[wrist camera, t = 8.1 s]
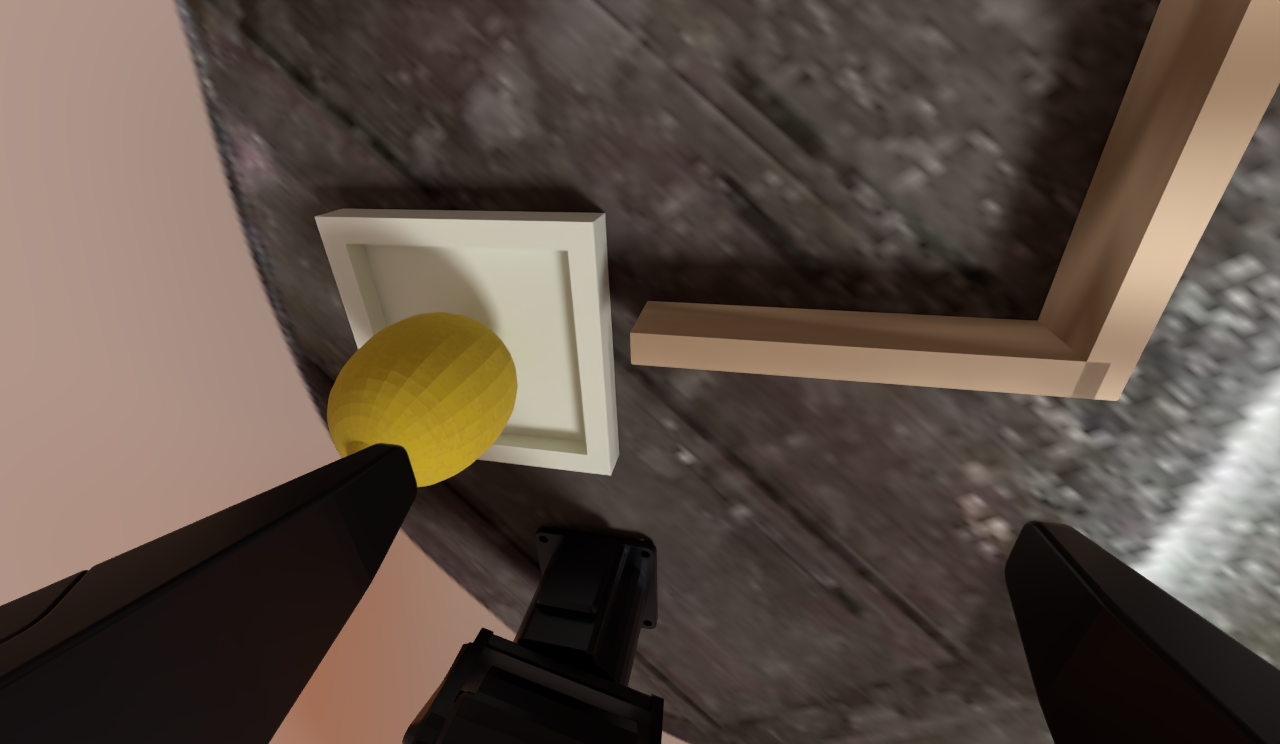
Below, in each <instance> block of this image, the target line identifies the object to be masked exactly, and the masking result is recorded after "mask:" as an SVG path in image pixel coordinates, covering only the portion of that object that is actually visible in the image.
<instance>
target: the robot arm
mask: <svg viewBox="0 0 1280 744" xmlns="http://www.w3.org/2000/svg"><path fill="white" fill-rule="evenodd" d="M416 494H417V481H416V478H415V475H414V472H413V468H412V465H411V462H410V459H409V456H408V453H407V450H406V449H405V448H404V447H403V446H401V445H396V444H388V443H377V444H374V445H371V446H369V447H367V448H365V449H362V450H360V451H358V452H355V453H353V454H351V455H348V456H346V457H344V458H342V459H339V460H337V461H335V462H332V463H330V464H328V465H325V466H323V467H321V468H318V469H316V470H314V471H312V472H309V473H307V474H305V475H303V476H300V477H298V478H295V479H293V480H291V481H289V482H286V483H284V484H282V485H279V486H277V487H275V488H272V489H270V490H268V491H266V492H263V493H261V494H259V495H256V496H254V497H252V498H249V499H247V500H245V501H242V502H241V503H238V504H236V505H233V506H231V507H229V508H226V509H224V510H222V511H219V512H217V513H215V514H213V515H210V516H208V517H206V518H203V519H201V520H199V521H196V522H194V523H192V524H190V525H187V526H185V527H183V528H180V529H178V530H176V531H173V532H171V533H169V534H166V535H164V536H162V537H160V538H157V539H155V540H153V541H150V542H148V543H146V544H144V545H141V546H139V547H137V548H134V549H132V550H130V551H127V552H125V553H123V554H120V555H118V556H116V557H114V558H111V559H109V560H107V561H104V562H102V563H100V564H97V565H95V566H94V567H92V568H91V569H90V570H84V571H81V572H79V573H76V574H74V575H72V576H69V577H67V578H65V579H63V580H60V581H58V582H56V583H53V584H51V585H49V586H47V587H44V588H42V589H40V590H38V591H35V592H32V593H30V594H28V595H25V596H23V597H21V598H18V599H16V600H13V601H11V602H9V603H6V604H4V605H2V606H0V744H269V742H270V741H271V739H272V737H273V736H274V734H275V733H276V731H277V729H278V728H279V726H280V725H281V723H282V722H283V720H284V719H285V717H286V716H287V714H288V713H289V711H290V709H291V708H292V706H293V705H294V703H295V702H296V700H297V698H298V697H299V695H300V694H301V692H302V691H303V689H304V687H305V686H306V684H307V683H308V681H309V680H310V678H311V677H312V675H313V673H314V672H315V670H316V669H317V667H318V666H319V664H320V663H321V661H322V659H323V658H324V656H325V655H326V653H327V652H328V650H329V648H330V647H331V645H332V644H333V642H334V641H335V639H336V637H337V636H338V634H339V633H340V631H341V630H342V628H343V627H344V625H345V624H346V622H347V620H348V619H349V617H350V616H351V614H352V613H353V611H354V609H355V608H356V606H357V605H358V603H359V601H360V600H361V599H362V597H363V595H364V594H365V592H366V590H367V589H368V587H369V585H370V584H371V582H372V580H373V578H374V577H375V575H376V573H377V571H378V569H379V567H380V565H381V563H382V562H383V560H384V558H385V556H386V554H387V552H388V550H389V548H390V546H391V544H392V542H393V540H394V538H395V536H396V535H397V533H398V531H399V529H400V527H401V525H402V523H403V521H404V519H405V517H406V515H407V513H408V511H409V509H410V507H411V506H412V504H413V502H414V500H415V497H416ZM535 543H536V548H537V554H538V559H539V565H540V571H541V576H542V579H541V581H540V583H539V585H538V588H537V590H536V592H535V594H534V596H533V599H532V601H531V603H530V605H529V608H528V610H527V612H526V614H525V616H524V619H523V621H522V623H521V625H520V628H519V630H518V632H517V634H516V636H515V639H514V641H513V642H512V641H509V640H507V639H504V638H502V637H499V636H497V635H494V634H493V631H490V630H488V629H485V628H482V629H481V630H480V632H479V634H478V635H477V637H476V639H475V641H474V642H473V643H471V642H469V643H468V644H463V646H462V648H461V650H460V651H459V653H458V655H457V657H456V659H455V661H454V663H453V664H452V667H451V668H450V670H449V672H448V674H447V675H446V677H445V678H444V680H443V682H442V683H441V684H440V686H439V687H438V688H437V690H436V691H435V692H434V694H433V695H432V696H431V698H430V699H429V701H428V702H427V703H426V704H425V706H424V707H423V708H422V710H421V711H420V712H419V714H418V715H417V717H416V718H415V719H414V720H413V722H412V723H411V724H410V726H409V727H408V729H407V731H406V733H405V735H404V738H403V740H402V744H661V738H662V722H663V705H664V699H663V698H661V697H658V696H656V695H653V694H652V695H651V696H649V695H647V694H644V693H642V692H639V691H636V690H634V689H631V688H629V687H628V683H629V678H630V674H631V670H632V665H633V661H634V656H635V652H636V647H637V643H638V638H639V634H640V629H641V628H646V629H653V628H655V627H656V624H657V619H658V610H657V550H656V547H655V546H654V544H652V543H650V542H647V541H640V540H633V539H626V538H619V537H612V536H605V535H598V534H591V533H584V532H577V531H570V530H564V529H557V528H550V527H540V528H539V529H538V530H537V532H536V534H535ZM646 551H647V552H646ZM1005 581H1006V585H1007V589H1008V592H1009V596H1010V600H1011V603H1012V607H1013V611H1014V614H1015V618H1016V622H1017V625H1018V629H1019V633H1020V636H1021V640H1022V643H1023V647H1024V651H1025V654H1026V658H1027V662H1028V665H1029V669H1030V673H1031V676H1032V680H1033V683H1034V687H1035V690H1036V693H1037V696H1038V700H1039V703H1040V706H1041V708H1042V711H1043V714H1044V717H1045V719H1046V722H1047V725H1048V728H1049V730H1050V733H1051V735H1052V738H1053V740H1054V743H1055V744H1280V670H1278V669H1277V668H1275V667H1274V666H1272V665H1271V664H1270V663H1268V662H1267V661H1265V660H1264V659H1262V658H1261V657H1259V656H1258V655H1257V654H1255V653H1254V652H1252V651H1251V650H1249V649H1248V648H1246V647H1245V646H1243V645H1242V644H1241V643H1239V642H1238V641H1236V640H1235V639H1233V638H1232V637H1230V636H1229V635H1228V634H1226V633H1225V632H1223V631H1222V630H1220V629H1219V628H1217V627H1216V626H1215V625H1213V624H1212V623H1210V622H1209V621H1207V620H1206V619H1204V618H1203V617H1201V616H1200V615H1199V614H1197V613H1196V612H1194V611H1193V610H1191V609H1190V608H1188V607H1187V606H1186V605H1184V604H1183V603H1181V602H1180V601H1178V600H1177V599H1175V598H1174V597H1173V596H1171V595H1170V594H1168V593H1167V592H1165V591H1164V590H1162V589H1161V588H1159V587H1158V586H1157V585H1155V584H1154V583H1152V582H1151V581H1149V580H1148V579H1146V578H1145V577H1144V576H1142V575H1141V574H1139V573H1138V572H1136V571H1135V570H1133V569H1132V568H1130V567H1129V566H1128V565H1126V564H1125V563H1123V562H1122V561H1120V560H1119V559H1117V558H1116V557H1115V556H1113V555H1112V554H1110V553H1109V552H1107V551H1106V550H1104V549H1103V548H1102V547H1100V546H1099V545H1097V544H1096V543H1094V542H1093V541H1091V540H1090V539H1088V538H1087V537H1086V536H1084V535H1083V534H1081V533H1080V532H1078V531H1077V530H1075V529H1074V528H1072V527H1071V526H1068V525H1066V524H1062V523H1054V522H1045V521H1037V520H1034V521H1029V522H1028V523H1026V524H1025V525H1024V527H1023V528H1022V530H1021V532H1020V534H1019V536H1018V538H1017V541H1016V543H1015V545H1014V547H1013V549H1012V551H1011V553H1010V556H1009V558H1008V560H1007V562H1006V566H1005Z"/></svg>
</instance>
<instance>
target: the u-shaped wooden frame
mask: <svg viewBox="0 0 1280 744" xmlns="http://www.w3.org/2000/svg"><path fill="white" fill-rule="evenodd" d="M1279 83H1280V0H1161V1H1160V4H1159V7H1158V9H1157V12H1156V14H1155V17H1154V20H1153V22H1152V25H1151V27H1150V30H1149V33H1148V35H1147V38H1146V41H1145V43H1144V46H1143V48H1142V51H1141V54H1140V56H1139V59H1138V61H1137V64H1136V67H1135V69H1134V72H1133V74H1132V77H1131V80H1130V82H1129V85H1128V87H1127V90H1126V93H1125V95H1124V98H1123V100H1122V103H1121V106H1120V108H1119V111H1118V113H1117V116H1116V119H1115V121H1114V124H1113V126H1112V129H1111V132H1110V134H1109V137H1108V139H1107V142H1106V145H1105V147H1104V150H1103V152H1102V155H1101V158H1100V160H1099V163H1098V165H1097V168H1096V171H1095V173H1094V176H1093V178H1092V181H1091V184H1090V186H1089V189H1088V191H1087V194H1086V197H1085V199H1084V202H1083V204H1082V207H1081V210H1080V212H1079V215H1078V217H1077V220H1076V223H1075V225H1074V228H1073V230H1072V233H1071V236H1070V238H1069V241H1068V243H1067V246H1066V249H1065V251H1064V254H1063V256H1062V259H1061V262H1060V264H1059V267H1058V269H1057V272H1056V275H1055V277H1054V280H1053V282H1052V285H1051V288H1050V290H1049V293H1048V295H1047V298H1046V301H1045V303H1044V306H1043V308H1042V311H1041V314H1040V316H1039V319H1038V321H1035V320H1015V319H996V318H976V317H956V316H936V315H916V314H897V313H877V312H857V311H837V310H818V309H798V308H778V307H758V306H739V305H719V304H699V303H679V302H659V301H647V303H646V304H645V306H644V308H643V310H642V312H641V314H640V315H639V317H638V319H637V321H636V323H635V325H634V327H633V328H632V330H631V332H630V341H631V364H636V365H649V366H662V367H675V368H689V369H702V370H715V371H728V372H742V373H755V374H768V375H781V376H794V377H808V378H821V379H834V380H847V381H860V382H874V383H887V384H900V385H913V386H926V387H940V388H953V389H966V390H979V391H992V392H1006V393H1019V394H1032V395H1045V396H1058V397H1072V398H1085V399H1098V400H1111V401H1118V399H1119V397H1120V395H1121V393H1122V391H1123V389H1124V387H1125V385H1126V383H1127V381H1128V379H1129V377H1130V375H1131V373H1132V372H1133V370H1134V368H1135V366H1136V364H1137V362H1138V360H1139V358H1140V356H1141V354H1142V352H1143V350H1144V348H1145V346H1146V344H1147V342H1148V340H1149V338H1150V336H1151V334H1152V332H1153V330H1154V328H1155V326H1156V324H1157V322H1158V321H1159V319H1160V317H1161V315H1162V313H1163V311H1164V309H1165V307H1166V305H1167V303H1168V301H1169V299H1170V297H1171V295H1172V293H1173V291H1174V289H1175V287H1176V285H1177V283H1178V281H1179V279H1180V277H1181V275H1182V273H1183V271H1184V269H1185V268H1186V266H1187V264H1188V262H1189V260H1190V258H1191V256H1192V254H1193V252H1194V250H1195V248H1196V246H1197V244H1198V242H1199V240H1200V238H1201V236H1202V234H1203V232H1204V230H1205V228H1206V226H1207V224H1208V222H1209V220H1210V218H1211V217H1212V215H1213V213H1214V211H1215V209H1216V207H1217V205H1218V203H1219V201H1220V199H1221V197H1222V195H1223V193H1224V191H1225V189H1226V187H1227V185H1228V183H1229V181H1230V179H1231V177H1232V175H1233V173H1234V171H1235V169H1236V167H1237V166H1238V164H1239V162H1240V160H1241V158H1242V156H1243V154H1244V152H1245V150H1246V148H1247V146H1248V144H1249V142H1250V140H1251V138H1252V136H1253V134H1254V132H1255V130H1256V128H1257V126H1258V124H1259V122H1260V120H1261V118H1262V116H1263V115H1264V113H1265V111H1266V109H1267V107H1268V105H1269V103H1270V101H1271V99H1272V97H1273V95H1274V93H1275V91H1276V89H1277V87H1278V85H1279Z"/></svg>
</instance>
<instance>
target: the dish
mask: <svg viewBox="0 0 1280 744" xmlns="http://www.w3.org/2000/svg"><path fill="white" fill-rule="evenodd" d="M314 217H315V220H316V223H317V226H318V229H319V232H320V235H321V238H322V242H323V245H324V248H325V251H326V254H327V257H328V260H329V263H330V266H331V269H332V272H333V275H334V278H335V281H336V284H337V287H338V290H339V293H340V296H341V299H342V302H343V305H344V308H345V311H346V314H347V317H348V320H349V323H350V326H351V329H352V332H353V335H354V338H355V341H356V344H357V347H358V349H360V348H361V347H362V346H363V345H364V344H365V343H366V342H367V341H368V340H369V339H370V338H371V337H373V336H374V335H375V334H376V333H378V332H379V331H381V330H382V329H384V328H386V327H387V326H390V325H392V324H394V323H396V322H399V321H401V320H404V319H406V318H408V317H411V316H414V315H418V314H424V313H436V312H447V313H453V314H459V315H464V316H467V317H469V318H471V319H474V320H476V321H479V322H480V323H482V324H483V325H485V326H486V327H488V328H489V329H491V330H492V331H493V332H494V333H495V334H496V335H497V336H498V337H499V338H500V339H501V340H502V341H503V343H504V345H505V346H506V348H507V349H508V351H509V352H510V354H511V357H512V359H513V362H514V365H515V368H516V375H517V384H518V386H517V394H516V400H515V405H514V409H513V412H512V414H511V416H510V418H509V420H508V422H507V424H506V425H505V427H504V429H503V431H502V433H501V434H500V436H499V437H498V439H497V440H496V441H495V442H494V444H493V445H492V446H491V447H490V448H489V449H488V450H487V451H486V452H485V453H484V454H482V455H481V456H480V457H479V458H478V460H486V461H494V462H503V463H511V464H519V465H528V466H536V467H544V468H553V469H561V470H569V471H578V472H586V473H594V474H602V475H611V474H612V472H613V469H614V466H615V464H616V461H617V459H618V456H619V443H618V426H617V409H616V392H615V375H614V358H613V341H612V324H611V307H610V290H609V273H608V256H607V239H606V222H605V213H582V212H521V211H461V210H400V209H339V210H335V211H332V212H328V213H325V214H321V215H318V216H314Z"/></svg>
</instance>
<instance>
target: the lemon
mask: <svg viewBox="0 0 1280 744" xmlns="http://www.w3.org/2000/svg"><path fill="white" fill-rule="evenodd" d="M517 386H518V384H517V375H516V368H515V365H514V362H513V359H512V357H511V354H510V352H509V351H508V349H507V348H506V346H505V345H504V343H503V341H502V340H501V339H500V338H499V337H498V336H497V335H496V334H495V333H494V332H493V331H492V330H491V329H489V328H488V327H486V326H485V325H483V324H482V323H480V322H479V321H476V320H474V319H471V318H469V317H467V316H464V315H459V314H453V313H447V312H436V313H424V314H418V315H414V316H411V317H408V318H406V319H404V320H401V321H399V322H396V323H394V324H392V325H390V326H387V327H386V328H384V329H382V330H381V331H379V332H378V333H376V334H375V335H374V336H373V337H371V338H370V339H369V340H368V341H367V342H366V343H365V344H364V345H363V346H362V347H361V348H360V349H358V350H357V351H356V352H355V353H354V355H353V356H352V357H351V358H350V359H349V360H348V361H347V363H346V364H345V365H344V367H343V368H342V370H341V371H340V373H339V375H338V377H337V379H336V381H335V383H334V385H333V387H332V390H331V392H330V395H329V399H328V408H327V422H328V426H329V431H330V435H331V438H332V441H333V443H334V445H335V447H336V449H337V451H338V452H339V454H340V455H341V456H342V458H344V457H346V456H348V455H351V454H353V453H355V452H358V451H360V450H362V449H365V448H367V447H369V446H371V445H374V444H377V443H388V444H396V445H401V446H403V447H404V448H405V449H406V450H407V453H408V456H409V459H410V462H411V465H412V468H413V472H414V475H415V478H416V481H417V487H423V486H429V485H433V484H436V483H438V482H441V481H443V480H445V479H448V478H450V477H452V476H454V475H456V474H458V473H459V472H461V471H463V470H464V469H465V468H467V467H468V466H470V465H471V464H472V463H473V462H474V461H476V460H477V459H478V458H479V457H480V456H481V455H482V454H484V453H485V452H486V451H487V450H488V449H489V448H490V447H491V446H492V445H493V444H494V442H495V441H496V440H497V439H498V437H499V436H500V434H501V433H502V431H503V429H504V427H505V425H506V424H507V422H508V420H509V418H510V416H511V414H512V412H513V409H514V405H515V400H516V394H517Z"/></svg>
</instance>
